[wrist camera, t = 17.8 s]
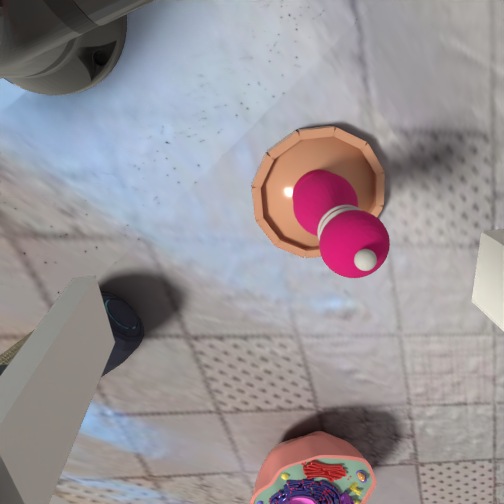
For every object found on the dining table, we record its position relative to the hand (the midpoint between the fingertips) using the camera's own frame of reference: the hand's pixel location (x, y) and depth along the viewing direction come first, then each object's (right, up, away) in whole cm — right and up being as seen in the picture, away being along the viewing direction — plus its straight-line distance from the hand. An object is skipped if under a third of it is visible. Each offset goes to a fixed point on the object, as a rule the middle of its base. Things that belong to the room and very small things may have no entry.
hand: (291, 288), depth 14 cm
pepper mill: (+7, +8, +36) cm, 38 cm away
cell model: (+8, -32, +55) cm, 65 cm away
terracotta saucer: (+7, +9, +37) cm, 38 cm away
